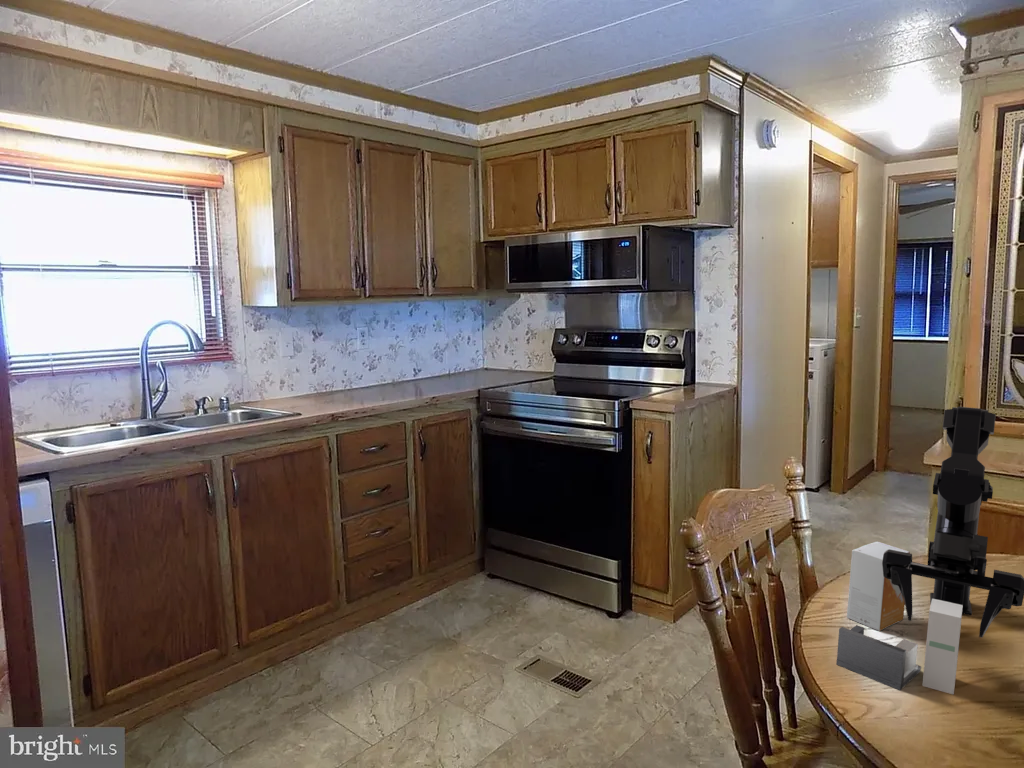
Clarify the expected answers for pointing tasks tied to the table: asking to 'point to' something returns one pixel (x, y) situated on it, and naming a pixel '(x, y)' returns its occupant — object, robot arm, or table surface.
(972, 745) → the table surface
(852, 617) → the small box
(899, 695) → the table surface
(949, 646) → the block
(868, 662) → the gray open holder
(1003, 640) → the table surface
